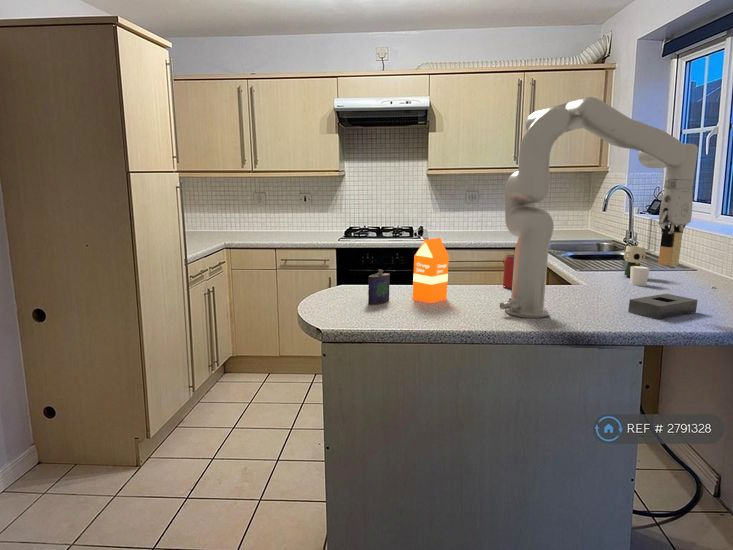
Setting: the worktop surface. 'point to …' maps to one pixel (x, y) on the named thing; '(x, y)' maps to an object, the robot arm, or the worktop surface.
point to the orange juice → (430, 271)
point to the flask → (378, 288)
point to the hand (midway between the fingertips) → (670, 245)
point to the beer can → (508, 271)
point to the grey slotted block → (662, 306)
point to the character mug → (633, 257)
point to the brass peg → (671, 251)
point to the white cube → (639, 275)
